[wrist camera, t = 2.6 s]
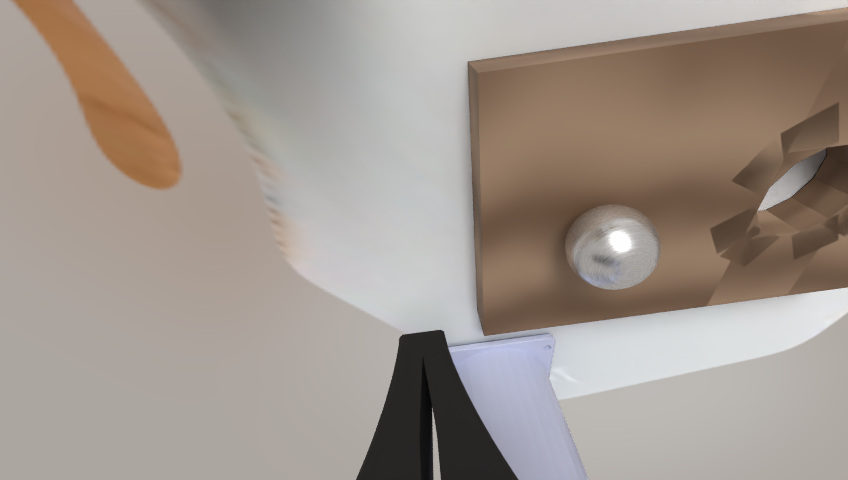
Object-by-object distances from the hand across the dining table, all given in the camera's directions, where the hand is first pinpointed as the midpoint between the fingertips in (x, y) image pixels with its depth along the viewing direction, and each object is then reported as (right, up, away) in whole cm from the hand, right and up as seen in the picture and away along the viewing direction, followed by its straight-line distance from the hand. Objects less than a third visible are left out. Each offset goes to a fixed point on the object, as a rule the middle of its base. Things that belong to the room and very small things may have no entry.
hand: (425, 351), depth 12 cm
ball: (+8, +3, +3) cm, 9 cm away
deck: (+13, +6, +6) cm, 15 cm away
